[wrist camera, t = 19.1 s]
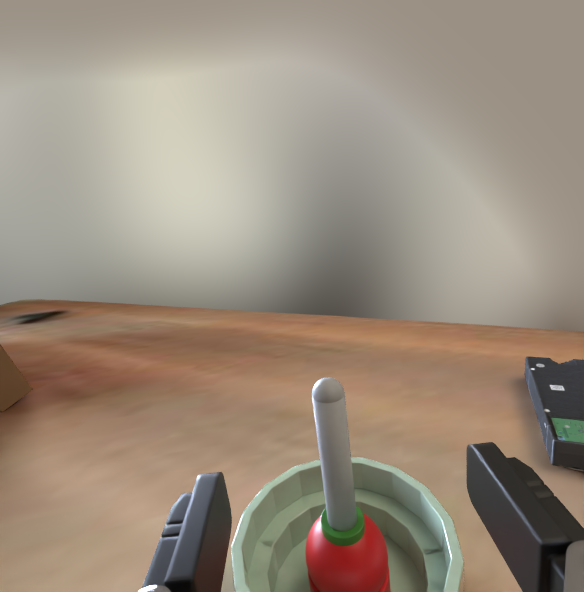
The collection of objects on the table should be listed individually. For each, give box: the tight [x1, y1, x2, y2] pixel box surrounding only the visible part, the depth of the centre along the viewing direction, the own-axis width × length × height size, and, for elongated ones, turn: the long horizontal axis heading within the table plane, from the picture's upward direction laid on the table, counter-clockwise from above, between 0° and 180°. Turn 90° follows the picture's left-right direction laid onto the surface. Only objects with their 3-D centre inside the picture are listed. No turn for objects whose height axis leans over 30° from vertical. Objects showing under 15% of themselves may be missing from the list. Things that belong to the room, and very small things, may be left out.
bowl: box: [231, 457, 464, 592], centre depth 22 cm, size 12×12×5 cm
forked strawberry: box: [305, 377, 391, 592], centre depth 20 cm, size 5×5×14 cm
